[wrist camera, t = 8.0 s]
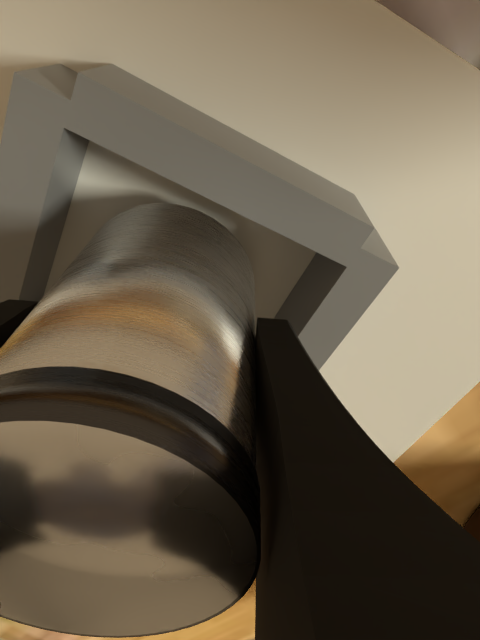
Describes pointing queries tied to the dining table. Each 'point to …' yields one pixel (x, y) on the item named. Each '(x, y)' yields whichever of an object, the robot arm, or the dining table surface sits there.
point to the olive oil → (474, 525)
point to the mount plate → (264, 172)
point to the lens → (133, 434)
